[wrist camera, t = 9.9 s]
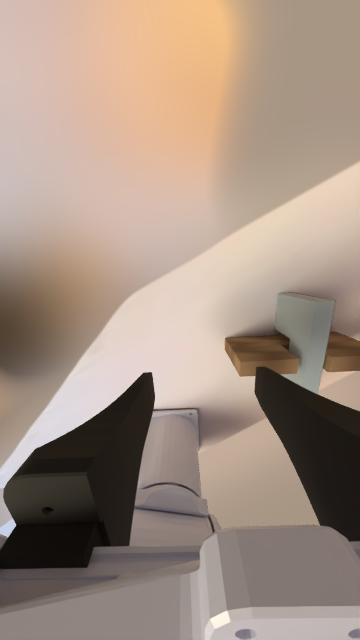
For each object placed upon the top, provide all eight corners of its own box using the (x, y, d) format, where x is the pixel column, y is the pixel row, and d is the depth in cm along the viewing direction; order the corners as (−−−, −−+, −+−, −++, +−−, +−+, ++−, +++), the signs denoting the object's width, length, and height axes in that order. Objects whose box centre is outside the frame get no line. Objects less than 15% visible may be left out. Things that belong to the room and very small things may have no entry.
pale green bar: (269, 379, 24) (298, 414, 18) (277, 293, 20) (316, 302, 14) (281, 379, 23) (313, 414, 18) (291, 292, 20) (335, 301, 14)
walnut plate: (224, 349, 22) (240, 376, 17) (225, 338, 22) (240, 361, 16) (333, 343, 22) (387, 369, 16) (335, 331, 21) (392, 354, 16)
